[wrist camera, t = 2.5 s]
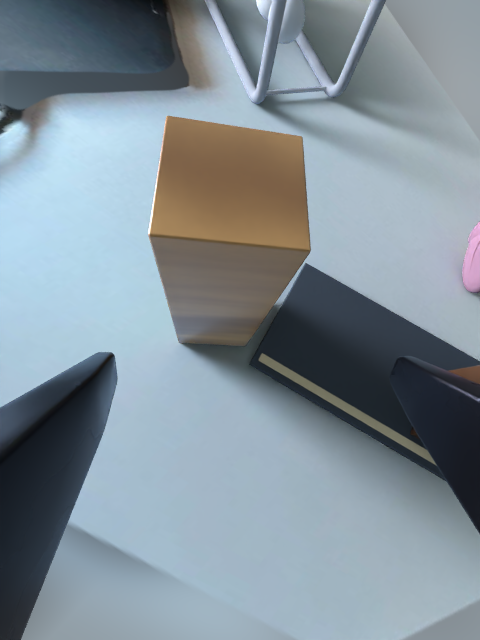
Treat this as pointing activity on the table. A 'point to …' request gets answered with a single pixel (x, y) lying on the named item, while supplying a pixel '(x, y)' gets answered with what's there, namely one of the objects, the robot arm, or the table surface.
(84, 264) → the table surface
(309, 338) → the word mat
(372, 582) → the table surface
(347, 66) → the newton's cradle
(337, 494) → the table surface
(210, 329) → the tan block
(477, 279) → the video game controller
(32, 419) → the robot arm
